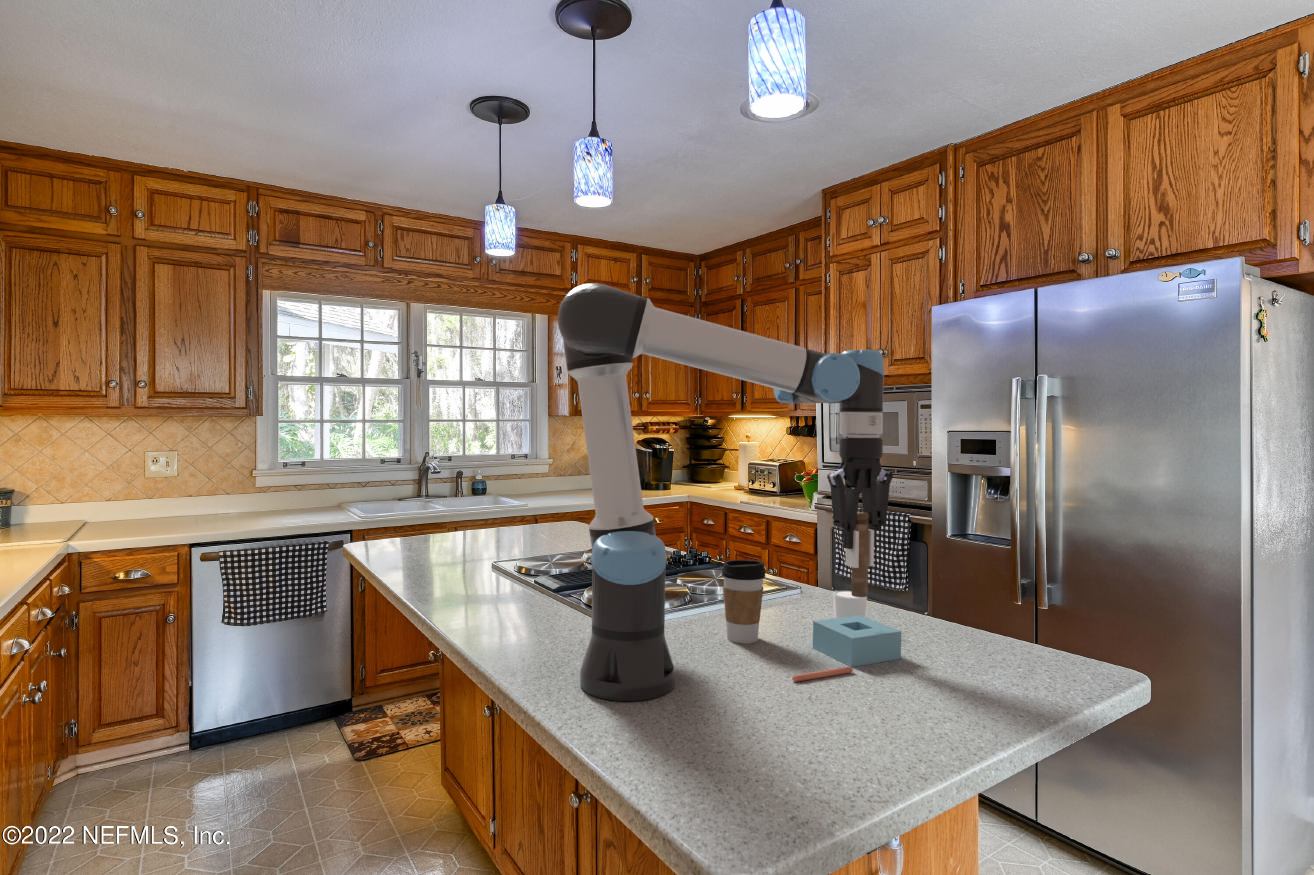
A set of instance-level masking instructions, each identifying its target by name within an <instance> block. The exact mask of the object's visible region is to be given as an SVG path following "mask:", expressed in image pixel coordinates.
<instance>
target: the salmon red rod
mask: <svg viewBox="0 0 1314 875" xmlns="http://www.w3.org/2000/svg"><path fill="white" fill-rule="evenodd" d="M853 670H854V669H853V667H850V666H844V667H839V668H838V667H837V668H832V669H831V668H830V669H826V670H820V671H814V672H813V671H812V672H807V673H801V674H795V675H792V678H791V680H792V681H793V682H795V683H797V682H802V681H808V680H816V679H820V678H821V679H822V678H826V677H832V676H838V675H845V674H851V673H852V672H853Z"/></svg>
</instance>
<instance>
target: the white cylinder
mask: <svg viewBox="0 0 1314 875" xmlns="http://www.w3.org/2000/svg"><path fill="white" fill-rule="evenodd" d="M867 600H868V596H867V597H855V596H852V590H837V591H834V592H832V601H833V602H832V604H833V605H832V606H833V618H841V617H849V616H857V615H861V616H864V617H866V611H867V610H866V609H867Z"/></svg>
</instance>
